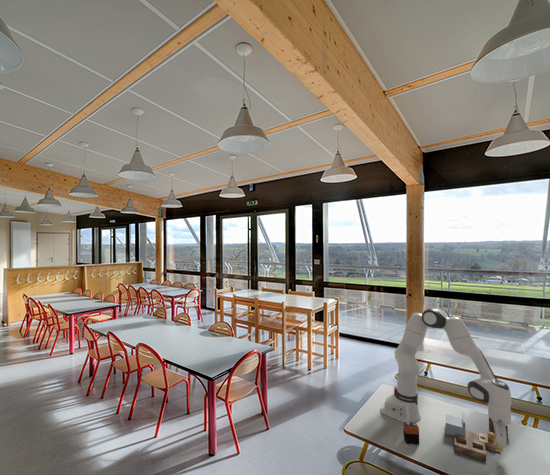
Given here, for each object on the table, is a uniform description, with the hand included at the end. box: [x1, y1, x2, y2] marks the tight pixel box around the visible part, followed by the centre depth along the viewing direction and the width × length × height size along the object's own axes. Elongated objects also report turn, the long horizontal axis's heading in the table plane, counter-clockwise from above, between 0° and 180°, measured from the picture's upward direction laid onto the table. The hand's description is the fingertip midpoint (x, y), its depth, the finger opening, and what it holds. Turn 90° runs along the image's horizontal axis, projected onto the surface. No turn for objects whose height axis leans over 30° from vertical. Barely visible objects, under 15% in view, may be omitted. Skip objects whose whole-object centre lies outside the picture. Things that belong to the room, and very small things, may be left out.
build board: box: [453, 434, 487, 461], centre depth 144 cm, size 13×9×3 cm
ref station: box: [444, 424, 502, 454], centre depth 152 cm, size 24×10×6 cm, turn 57°
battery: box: [402, 422, 420, 446], centre depth 151 cm, size 4×7×10 cm, turn 81°
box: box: [488, 417, 509, 437], centre depth 156 cm, size 6×6×7 cm
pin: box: [495, 437, 504, 452], centre depth 138 cm, size 3×3×7 cm
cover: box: [445, 413, 466, 437], centre depth 156 cm, size 9×9×9 cm
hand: (499, 443), depth 138 cm, fingers closed on pin, 3 cm apart
